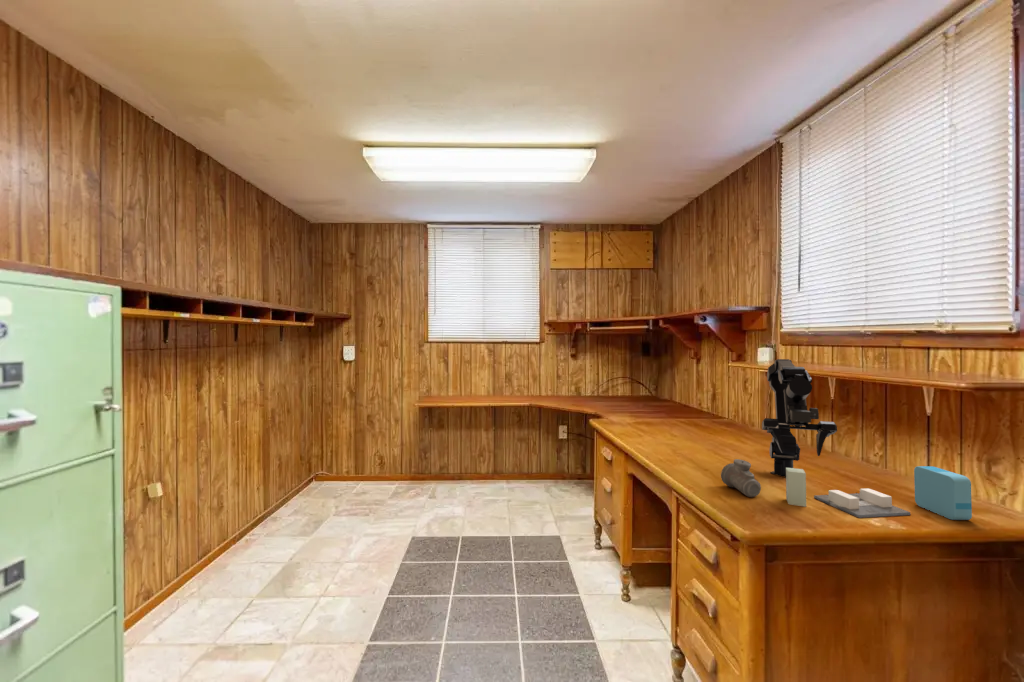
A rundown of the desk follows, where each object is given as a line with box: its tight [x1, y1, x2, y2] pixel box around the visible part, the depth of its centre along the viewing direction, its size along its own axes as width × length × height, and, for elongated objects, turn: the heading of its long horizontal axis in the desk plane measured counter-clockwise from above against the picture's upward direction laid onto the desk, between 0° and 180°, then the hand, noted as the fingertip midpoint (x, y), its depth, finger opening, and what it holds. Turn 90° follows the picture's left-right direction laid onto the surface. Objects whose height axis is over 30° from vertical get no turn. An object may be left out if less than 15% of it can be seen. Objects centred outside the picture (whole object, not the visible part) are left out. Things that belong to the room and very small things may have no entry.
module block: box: [785, 467, 807, 508], centre depth 125 cm, size 4×4×10 cm
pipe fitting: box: [720, 458, 762, 498], centre depth 135 cm, size 12×8×10 cm
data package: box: [913, 465, 973, 521], centre depth 117 cm, size 12×4×12 cm, turn 176°
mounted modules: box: [828, 488, 893, 509], centre depth 122 cm, size 14×7×3 cm, turn 95°
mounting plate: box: [813, 492, 911, 519], centre depth 122 cm, size 16×15×1 cm
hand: (800, 454), depth 124 cm, fingers open, 9 cm apart
